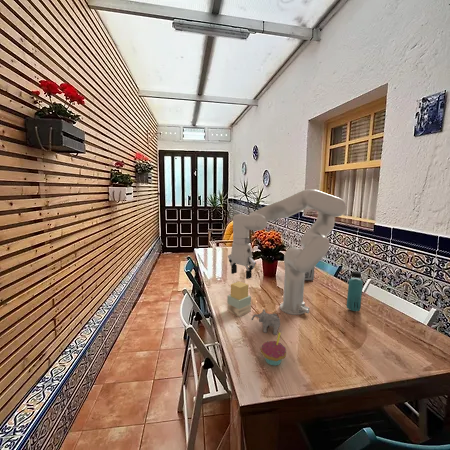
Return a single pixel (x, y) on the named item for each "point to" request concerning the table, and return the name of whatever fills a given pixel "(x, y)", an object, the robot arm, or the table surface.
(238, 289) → the block
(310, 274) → the icon cube
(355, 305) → the beverage bottle
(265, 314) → the gray elephant figurine
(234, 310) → the tower base
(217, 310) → the table surface
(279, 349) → the cupcake
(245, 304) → the pale green square block
